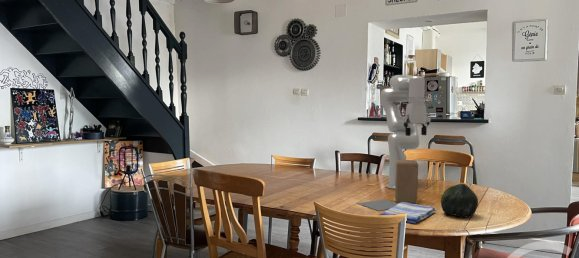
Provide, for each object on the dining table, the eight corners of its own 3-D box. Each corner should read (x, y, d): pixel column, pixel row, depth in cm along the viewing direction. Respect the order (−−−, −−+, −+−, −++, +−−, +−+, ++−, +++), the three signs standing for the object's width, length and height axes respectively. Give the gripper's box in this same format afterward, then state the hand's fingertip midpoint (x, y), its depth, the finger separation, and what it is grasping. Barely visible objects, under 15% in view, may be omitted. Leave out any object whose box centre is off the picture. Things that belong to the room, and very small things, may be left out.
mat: (384, 200, 216) (384, 199, 216) (406, 206, 202) (406, 206, 202) (357, 203, 208) (357, 203, 208) (378, 211, 194) (378, 210, 194)
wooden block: (417, 204, 206) (418, 162, 205) (395, 203, 208) (396, 161, 207) (415, 200, 216) (416, 160, 215) (394, 198, 218) (396, 159, 217)
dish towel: (436, 212, 191) (436, 206, 190) (417, 225, 172) (417, 218, 172) (399, 206, 201) (399, 200, 201) (377, 217, 182) (377, 211, 182)
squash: (440, 196, 198) (442, 176, 187) (475, 200, 194) (479, 179, 183) (439, 223, 188) (442, 203, 178) (476, 227, 184) (481, 207, 174)
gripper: (425, 101, 221) (425, 134, 222) (397, 101, 215) (397, 135, 216) (435, 101, 214) (434, 135, 215) (406, 101, 208) (406, 136, 209)
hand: (416, 135), depth 216 cm, fingers open, 9 cm apart
